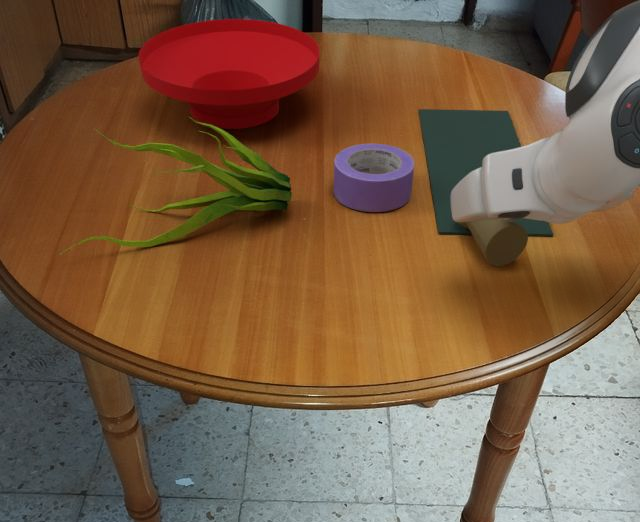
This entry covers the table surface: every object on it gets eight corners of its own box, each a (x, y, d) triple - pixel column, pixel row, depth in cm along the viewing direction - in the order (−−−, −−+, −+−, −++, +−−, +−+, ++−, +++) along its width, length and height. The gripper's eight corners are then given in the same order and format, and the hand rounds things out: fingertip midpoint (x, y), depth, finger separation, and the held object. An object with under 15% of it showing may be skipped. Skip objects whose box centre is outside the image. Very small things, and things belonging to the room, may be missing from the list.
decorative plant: (95, 197, 101) (68, 95, 90) (294, 199, 101) (291, 97, 90) (62, 267, 89) (27, 160, 78) (288, 270, 89) (283, 163, 78)
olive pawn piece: (525, 258, 90) (487, 215, 97) (530, 219, 86) (489, 177, 92) (484, 271, 90) (448, 228, 97) (486, 233, 85) (448, 191, 92)
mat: (418, 111, 121) (418, 108, 121) (507, 112, 121) (508, 110, 121) (438, 234, 95) (438, 231, 94) (552, 236, 94) (553, 234, 94)
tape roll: (334, 172, 106) (335, 141, 102) (408, 174, 106) (412, 143, 102) (332, 212, 98) (333, 180, 95) (413, 214, 98) (417, 182, 94)
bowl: (206, 66, 135) (199, 9, 127) (346, 93, 126) (348, 34, 119) (113, 127, 116) (100, 66, 109) (270, 165, 108) (267, 100, 100)
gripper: (655, 142, 73) (590, 182, 87) (472, 154, 71) (435, 193, 85) (659, 201, 73) (594, 231, 87) (477, 215, 71) (440, 244, 85)
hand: (514, 212), depth 86 cm, fingers closed
